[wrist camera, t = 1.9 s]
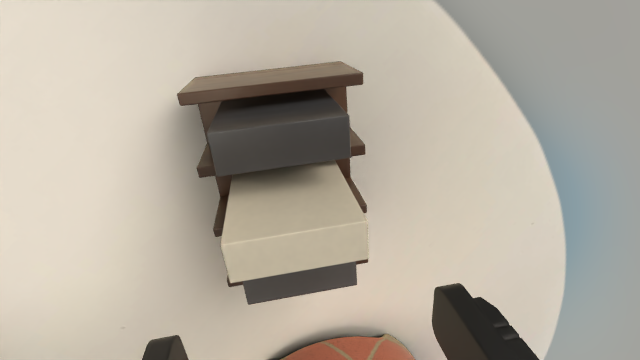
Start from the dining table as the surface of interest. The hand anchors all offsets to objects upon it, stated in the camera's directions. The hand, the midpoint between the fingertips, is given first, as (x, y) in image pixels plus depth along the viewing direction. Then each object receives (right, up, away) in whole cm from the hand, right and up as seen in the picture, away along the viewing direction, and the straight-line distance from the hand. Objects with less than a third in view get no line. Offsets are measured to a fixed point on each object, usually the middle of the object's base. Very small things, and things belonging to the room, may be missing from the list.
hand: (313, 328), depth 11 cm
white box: (-2, +6, +12) cm, 13 cm away
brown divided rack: (-2, +6, +13) cm, 14 cm away
